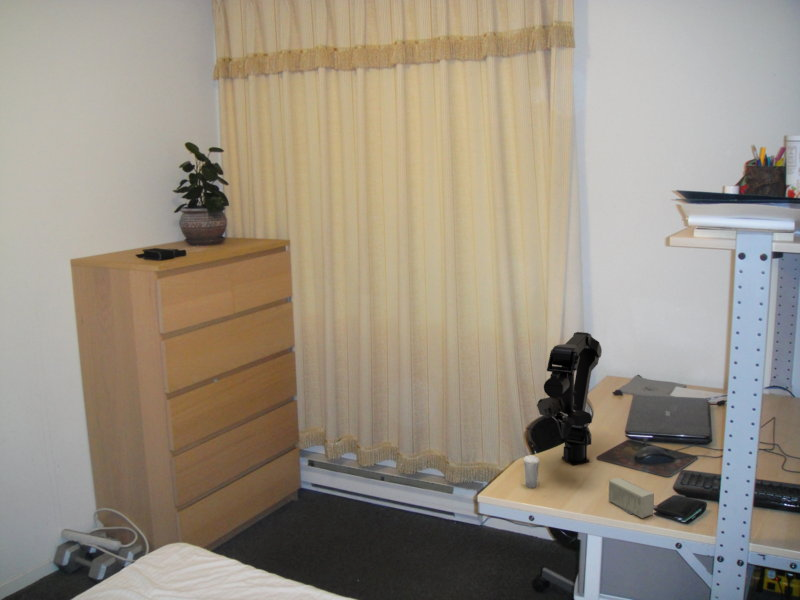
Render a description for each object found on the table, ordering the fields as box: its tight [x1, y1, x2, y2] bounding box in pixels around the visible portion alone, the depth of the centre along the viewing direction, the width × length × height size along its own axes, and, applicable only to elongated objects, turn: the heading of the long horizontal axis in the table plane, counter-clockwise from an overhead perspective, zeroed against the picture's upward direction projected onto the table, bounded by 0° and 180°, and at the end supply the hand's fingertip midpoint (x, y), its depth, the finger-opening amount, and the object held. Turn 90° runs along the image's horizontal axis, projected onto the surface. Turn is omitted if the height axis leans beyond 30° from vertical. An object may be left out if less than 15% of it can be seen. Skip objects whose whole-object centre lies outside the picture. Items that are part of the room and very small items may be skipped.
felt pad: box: [611, 502, 658, 515], centre depth 191 cm, size 9×8×1 cm
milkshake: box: [523, 454, 543, 489], centre depth 204 cm, size 4×5×10 cm
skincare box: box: [608, 476, 655, 519], centre depth 189 cm, size 6×4×12 cm
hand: (563, 438), depth 209 cm, fingers closed
